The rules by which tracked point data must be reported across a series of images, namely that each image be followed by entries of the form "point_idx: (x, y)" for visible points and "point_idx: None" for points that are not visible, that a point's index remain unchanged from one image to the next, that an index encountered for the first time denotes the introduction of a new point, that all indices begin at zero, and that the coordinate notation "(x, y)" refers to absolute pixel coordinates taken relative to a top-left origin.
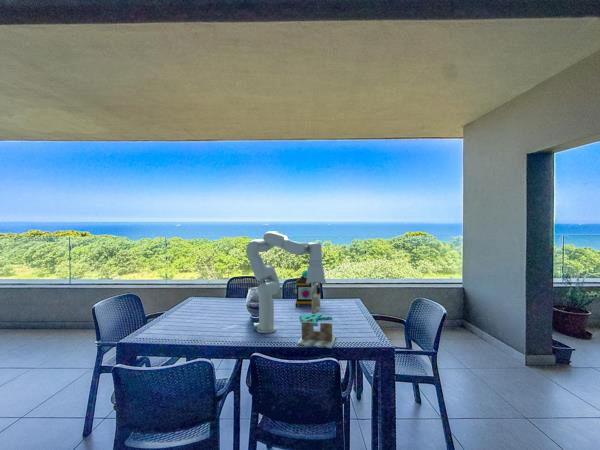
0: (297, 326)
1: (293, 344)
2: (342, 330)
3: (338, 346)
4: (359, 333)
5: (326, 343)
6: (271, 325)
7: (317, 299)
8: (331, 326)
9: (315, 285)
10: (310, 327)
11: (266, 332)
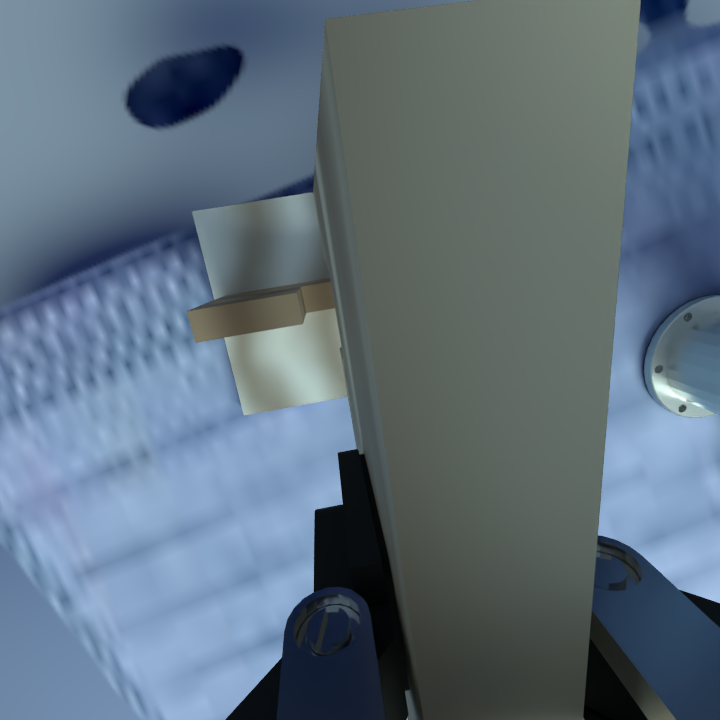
0: None
1: None
2: (253, 536)
3: (168, 261)
4: (136, 529)
5: (244, 244)
6: (699, 352)
7: (354, 414)
8: (196, 308)
9: (394, 348)
10: None
11: (689, 303)
